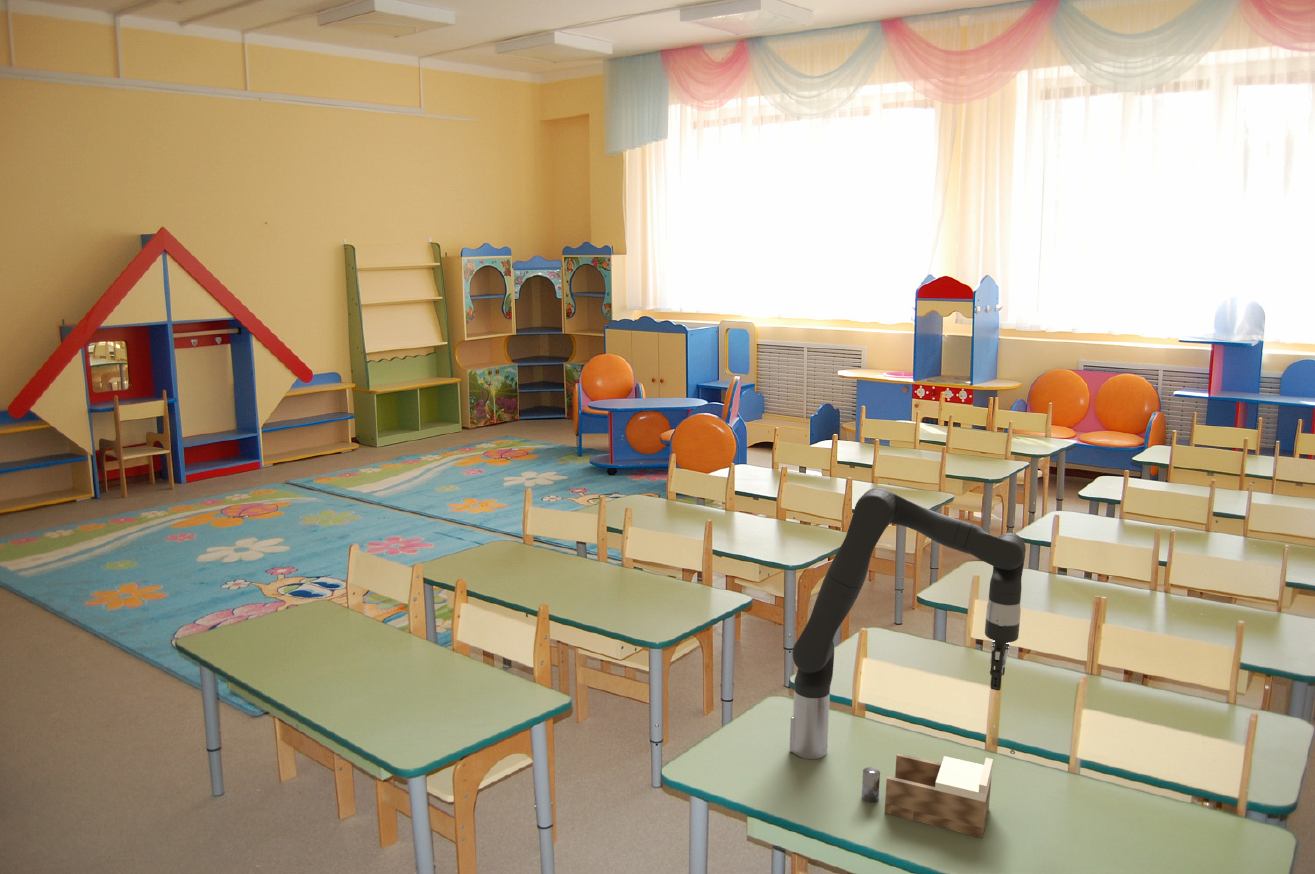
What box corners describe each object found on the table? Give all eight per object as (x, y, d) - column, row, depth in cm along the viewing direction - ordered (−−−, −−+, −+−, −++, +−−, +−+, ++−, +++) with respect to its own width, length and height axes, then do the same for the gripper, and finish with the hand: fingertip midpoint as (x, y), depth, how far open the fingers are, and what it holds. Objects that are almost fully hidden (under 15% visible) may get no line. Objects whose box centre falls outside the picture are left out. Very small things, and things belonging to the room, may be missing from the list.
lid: (934, 790, 219) (936, 774, 218) (943, 763, 230) (944, 748, 229) (985, 802, 214) (986, 786, 213) (991, 774, 225) (993, 759, 224)
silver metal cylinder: (859, 800, 230) (861, 773, 229) (863, 791, 234) (865, 765, 232) (876, 804, 229) (878, 777, 227) (880, 795, 232) (881, 769, 231)
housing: (884, 813, 225) (886, 778, 223) (895, 786, 236) (897, 753, 234) (982, 837, 216) (985, 802, 214) (988, 808, 227) (991, 774, 225)
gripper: (989, 604, 233) (984, 666, 236) (982, 626, 220) (977, 691, 223) (1022, 610, 229) (1016, 672, 233) (1017, 631, 217) (1011, 697, 220)
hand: (997, 681), depth 228 cm, fingers open, 8 cm apart
